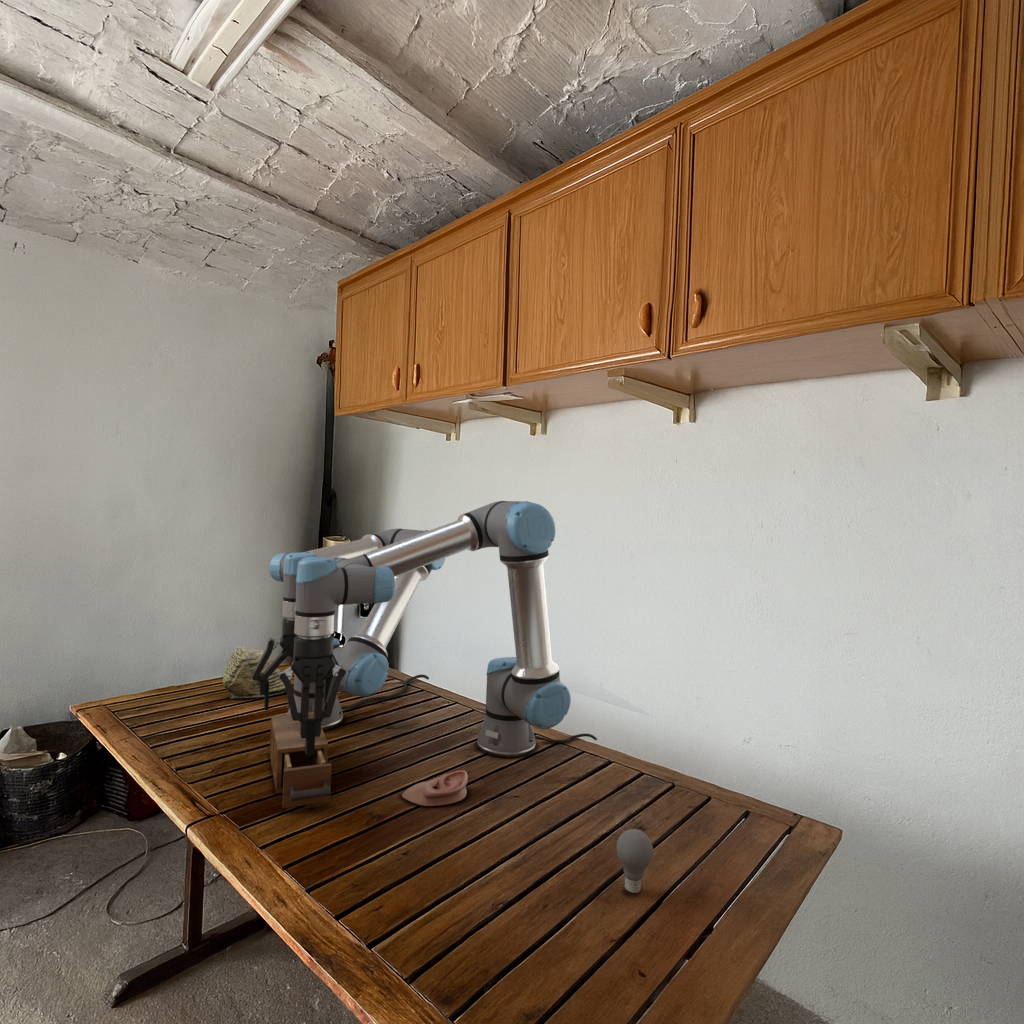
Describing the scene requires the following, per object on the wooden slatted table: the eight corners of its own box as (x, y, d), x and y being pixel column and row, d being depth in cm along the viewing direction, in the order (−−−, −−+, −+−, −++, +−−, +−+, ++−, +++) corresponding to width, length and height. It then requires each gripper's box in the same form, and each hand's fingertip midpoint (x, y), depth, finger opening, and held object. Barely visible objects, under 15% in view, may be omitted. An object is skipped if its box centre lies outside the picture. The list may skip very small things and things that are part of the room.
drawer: (334, 814, 125) (335, 776, 125) (285, 821, 121) (286, 782, 121) (317, 762, 148) (318, 730, 148) (275, 767, 145) (276, 734, 145)
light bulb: (610, 879, 108) (613, 822, 108) (644, 879, 109) (647, 822, 109) (619, 902, 102) (622, 840, 102) (655, 901, 103) (658, 840, 103)
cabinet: (326, 786, 139) (328, 743, 138) (276, 793, 134) (277, 749, 134) (314, 749, 158) (315, 711, 158) (269, 754, 154) (271, 715, 154)
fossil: (218, 695, 195) (220, 647, 195) (278, 685, 208) (279, 640, 207) (228, 703, 189) (230, 653, 188) (289, 692, 201) (290, 645, 201)
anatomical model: (397, 783, 132) (416, 761, 144) (396, 802, 132) (415, 779, 144) (458, 792, 130) (472, 769, 141) (457, 811, 130) (471, 786, 141)
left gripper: (242, 623, 143) (240, 716, 144) (354, 618, 153) (352, 704, 154) (242, 616, 150) (239, 705, 150) (349, 612, 160) (346, 695, 161)
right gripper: (280, 641, 120) (276, 764, 120) (350, 637, 125) (346, 756, 125) (277, 632, 127) (273, 750, 127) (344, 630, 132) (339, 742, 132)
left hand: (296, 705), depth 152 cm, fingers open, 13 cm apart
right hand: (309, 752), depth 126 cm, fingers closed
